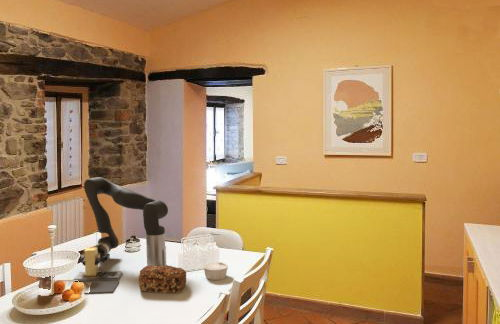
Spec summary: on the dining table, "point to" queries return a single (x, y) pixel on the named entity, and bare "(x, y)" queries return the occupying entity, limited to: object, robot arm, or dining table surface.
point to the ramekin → (215, 271)
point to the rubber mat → (103, 287)
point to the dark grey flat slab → (100, 276)
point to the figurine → (45, 283)
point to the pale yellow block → (91, 262)
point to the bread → (162, 279)
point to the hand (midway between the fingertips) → (89, 263)
